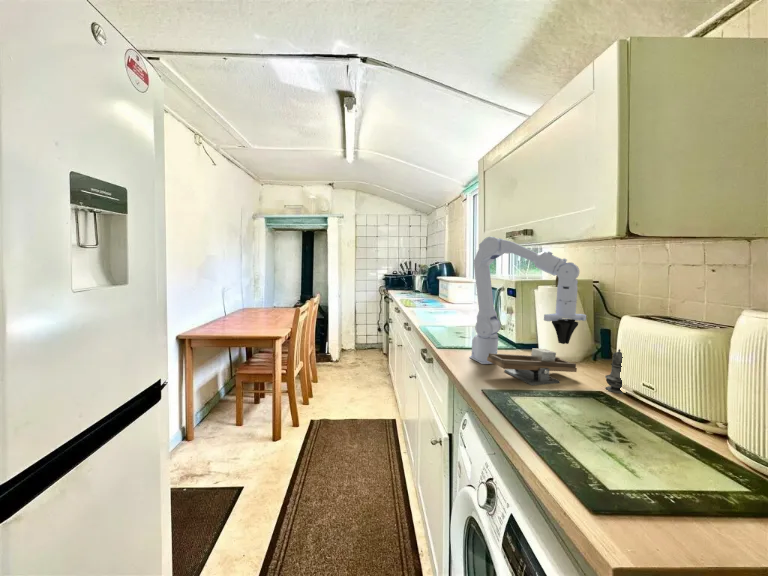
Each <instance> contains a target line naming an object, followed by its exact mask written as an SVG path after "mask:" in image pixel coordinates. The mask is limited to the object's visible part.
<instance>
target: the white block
mask: <svg viewBox="0 0 768 576" xmlns="http://www.w3.org/2000/svg"><path fill="white" fill-rule="evenodd" d="M556 355H557V352H555V351H552V350H549V349H546V348H537V347H536V348H533V347H532V349H531V354H530V356H531V360H530V361H543V362H555V357H557V356H556Z"/></svg>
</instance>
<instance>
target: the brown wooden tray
mask: <svg viewBox="0 0 768 576" xmlns="http://www.w3.org/2000/svg"><path fill="white" fill-rule="evenodd" d="M530 360H531V355H526V354H523V355H521V354H508V353H497V354H493V353H489V356H488V357H487V361H489V362H491V363H493V364H492V365H496V366H497V367H498V368H501V369H504V370H505V369H519V370H539V368H549V369H550V370H549V372H562V373H563V372H564V373H567V372H568V373H577V370H578V368H577V363H574V362H571V361H567V360H564V359H561V358H560V357H557V356H556V357H555V362H543V361H530Z"/></svg>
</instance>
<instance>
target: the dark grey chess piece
mask: <svg viewBox="0 0 768 576" xmlns="http://www.w3.org/2000/svg"><path fill="white" fill-rule="evenodd" d="M622 353H623V352H621V349H620V348H618V350H617V351H616V352H613V354H612V362H611V363H610V365H611V371H610V374H606V375H605V376H604V377H605V380H606V384H608V386H606V387H605V388H604V389H605V390H606V391H607V390H608V391H607V392H610V393H614V394H621V395H624V394H623V392H622V391H621V390H620V388H621V387H622V380H621V378H620V372H621V367H622V366H621V363H622V358H623V357H622Z"/></svg>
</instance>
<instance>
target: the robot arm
mask: <svg viewBox="0 0 768 576" xmlns="http://www.w3.org/2000/svg"><path fill="white" fill-rule="evenodd" d="M504 254H514V255H516V256H519V257H520V258H523V259H525V260H528V261H530V262H533V264H534V266H535V268H537V269H538V270H540V271H542V272H545V273H547V274H549V275H552V276H557V279H558V281H557V288H556V289H557V290H556V300H555V301H556V302H555V313H549V314H546V313H545V314H543V321H545V322H551V324H552V325H553V328H554V329H555V332H556V337H557V342H558V343H559V344H562V345H565V344H566V345H569V344H570V340H571V338H572V335H573V333H574V331H575V330H576V328H577V327H578V325H579V322H578V321H584V322H585V321H587V314H583V313H576V312H577V303H578V302H577V301H578V299H577V298H578V284H579V283H578V277H579V276H580V273H581V270H580V268H579V266H578V265H576V263H574V262H572V261H571V262H567V261H568V259H566V258H560V257H558V256H556V255H554V253H553V252H551V251H547V252H546V251H542V252H539V253H538V252H536V251H534V250H531V249H530V248H527V247H526V246H523V245H521V244H519V243H517V242H515V241H511V240H507V239H503V238H499V237H495V236H487V237H485V238H484V239H483V240H482V241H481V242H480V243H479V244H478V250H477V252H476V254H475V258H474V259H473V267H474V269H473V270H474V276H475V277H474V278H475V284H476V285H475V286H476V296H477V305H478V313H477V315H476V323H475V326H474V327H475V332H476V335H475V336H473V337H472V341H471V355H469V356H468V357H469V358H470V359H471V360H474V361H476V362H477V363H480V364H481V365H489V364H490V365H494V364H493V363H491V362H489V361H487V357H488V356H489V353H493V354H498V346H499V335H498V333H499V332H500V330H501V326H502V325H501V322H500V320H499V318H498V313H497V312H496V309H495V307H494V305H495V304H494V298H493V297H494V296H493V287H492V279H491V277H492V276H491V269H490V265H491V264H492V263H493V262H494V261H495V260H496V259H498V258H499V257H501V256H503V255H504Z"/></svg>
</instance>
